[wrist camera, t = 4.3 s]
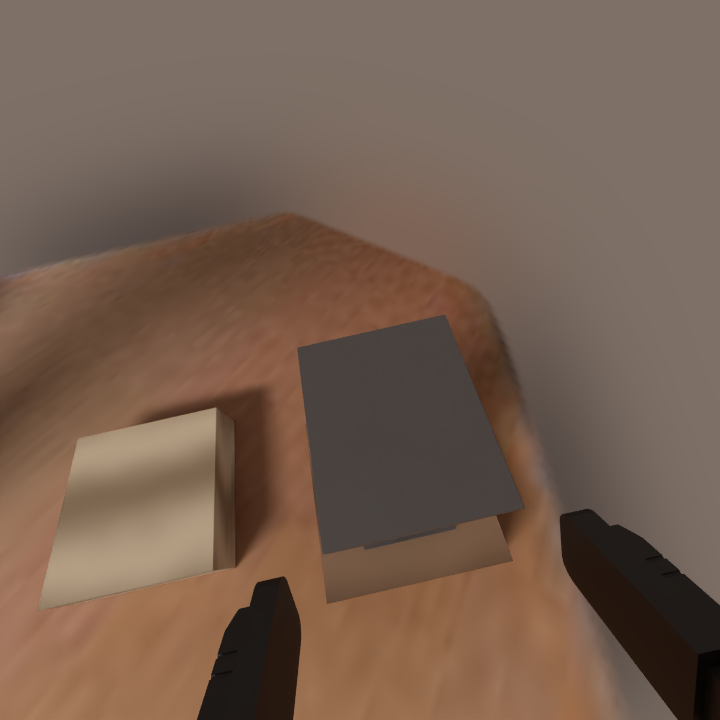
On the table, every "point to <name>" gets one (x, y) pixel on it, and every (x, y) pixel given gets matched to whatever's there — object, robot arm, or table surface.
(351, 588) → the stand
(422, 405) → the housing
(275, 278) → the table surface
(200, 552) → the stand
